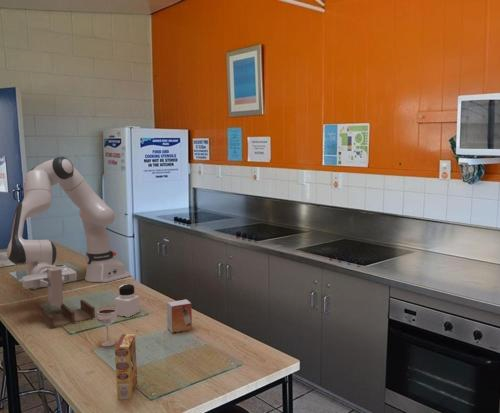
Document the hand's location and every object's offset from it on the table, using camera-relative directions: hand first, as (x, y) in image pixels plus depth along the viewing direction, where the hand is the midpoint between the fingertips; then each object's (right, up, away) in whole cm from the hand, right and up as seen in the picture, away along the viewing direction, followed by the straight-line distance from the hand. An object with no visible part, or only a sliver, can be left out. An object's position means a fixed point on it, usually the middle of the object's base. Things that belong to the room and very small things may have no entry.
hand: (55, 283), depth 185 cm
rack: (+3, -15, +5) cm, 16 cm away
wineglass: (+26, -18, -18) cm, 36 cm away
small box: (+49, -17, -5) cm, 52 cm away
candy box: (+41, -23, -50) cm, 69 cm away
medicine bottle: (+25, -15, +11) cm, 31 cm away
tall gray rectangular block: (-1, -8, +2) cm, 8 cm away
